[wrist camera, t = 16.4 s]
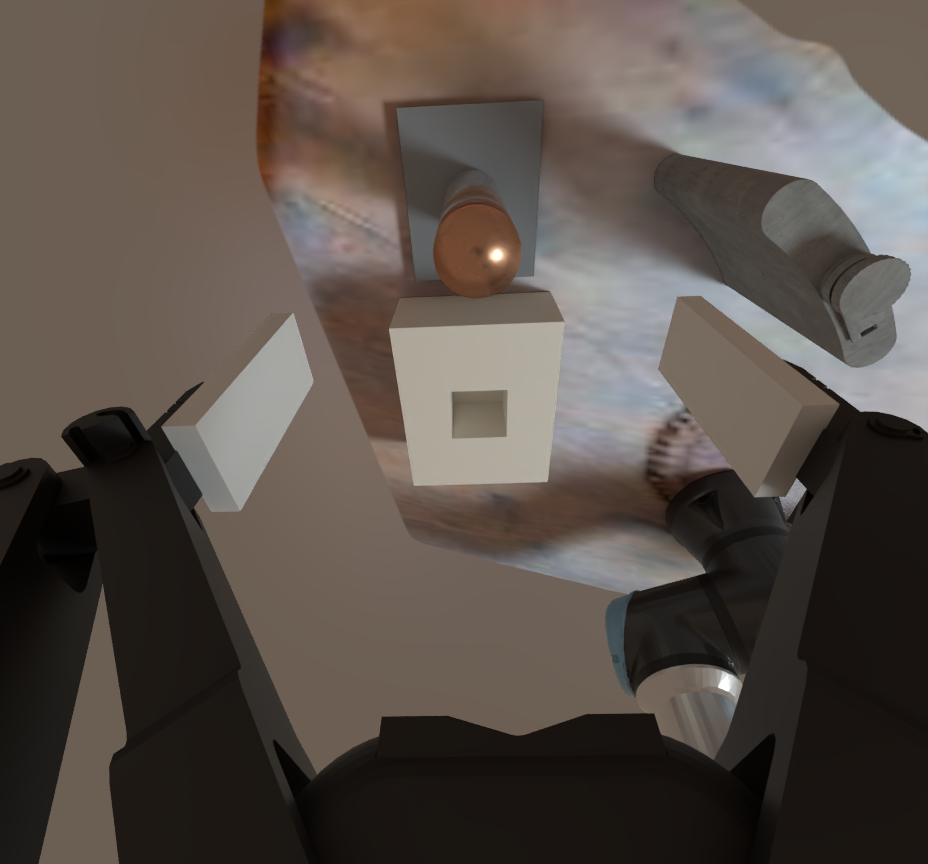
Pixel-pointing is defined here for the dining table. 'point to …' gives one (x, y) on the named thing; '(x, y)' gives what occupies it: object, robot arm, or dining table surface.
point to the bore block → (478, 386)
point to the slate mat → (470, 167)
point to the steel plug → (475, 238)
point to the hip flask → (791, 253)
